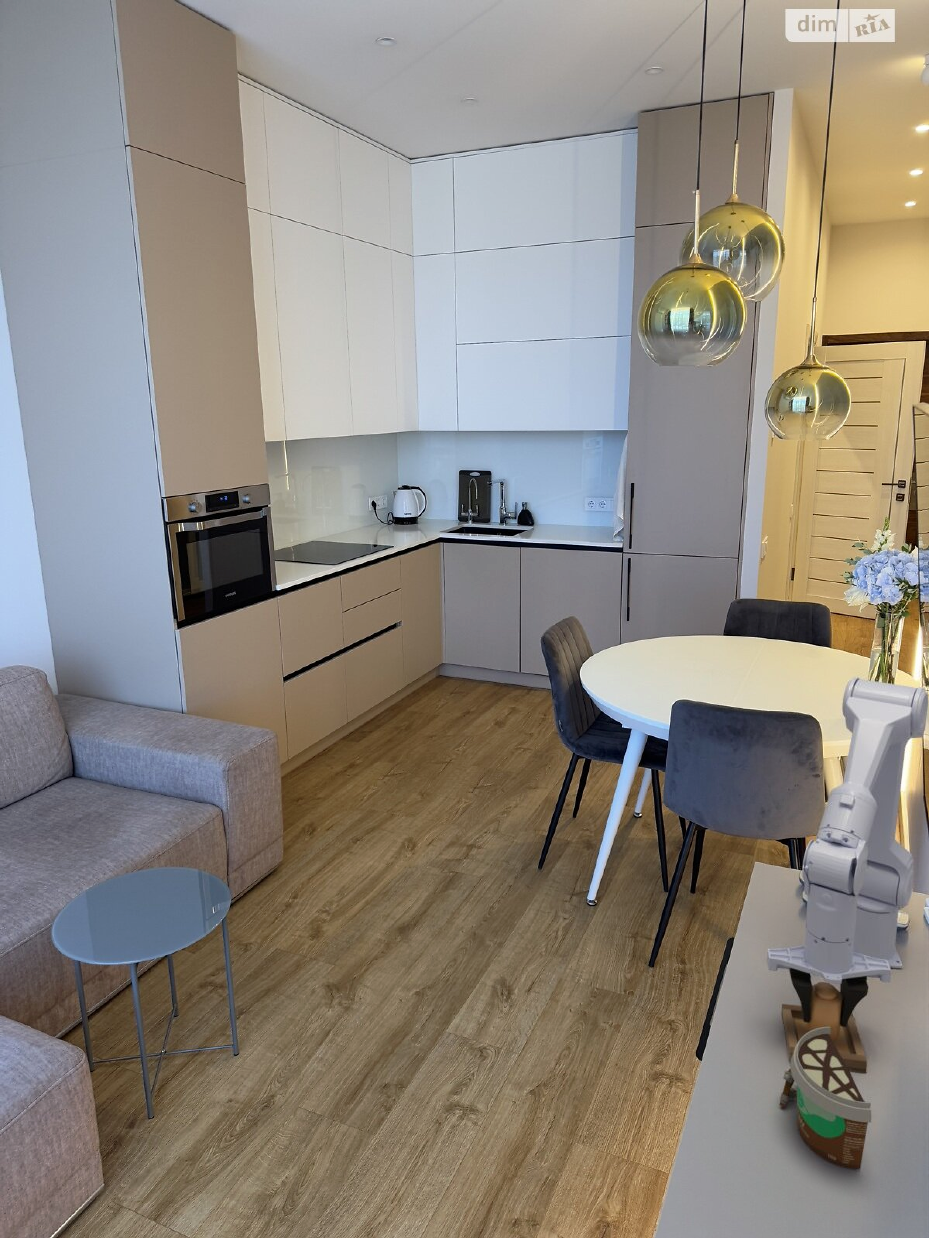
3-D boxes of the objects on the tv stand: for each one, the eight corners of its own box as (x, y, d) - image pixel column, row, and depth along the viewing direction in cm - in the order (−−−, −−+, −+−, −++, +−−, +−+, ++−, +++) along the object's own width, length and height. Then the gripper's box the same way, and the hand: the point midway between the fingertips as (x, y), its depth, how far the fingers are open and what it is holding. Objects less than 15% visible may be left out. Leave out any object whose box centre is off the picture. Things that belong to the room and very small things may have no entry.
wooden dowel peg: (804, 1016, 114) (806, 976, 112) (836, 1020, 113) (839, 980, 111) (809, 1038, 110) (811, 997, 109) (842, 1042, 109) (845, 1000, 108)
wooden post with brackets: (771, 1103, 102) (780, 1066, 102) (799, 1091, 108) (808, 1056, 108) (785, 1111, 101) (794, 1074, 101) (813, 1099, 106) (822, 1063, 106)
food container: (772, 1092, 105) (776, 1024, 102) (823, 1091, 105) (828, 1023, 102) (808, 1181, 93) (814, 1107, 90) (865, 1181, 93) (872, 1106, 90)
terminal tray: (781, 1014, 117) (781, 1003, 117) (851, 1022, 115) (852, 1011, 115) (790, 1063, 109) (791, 1052, 108) (866, 1073, 107) (867, 1061, 106)
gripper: (773, 942, 105) (768, 1034, 109) (900, 954, 102) (891, 1048, 106) (767, 909, 112) (762, 996, 116) (886, 919, 109) (877, 1009, 112)
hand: (823, 1018), depth 111 cm, fingers closed on wooden dowel peg, 4 cm apart
